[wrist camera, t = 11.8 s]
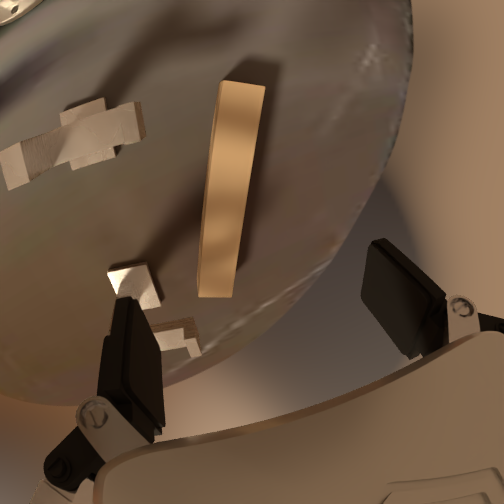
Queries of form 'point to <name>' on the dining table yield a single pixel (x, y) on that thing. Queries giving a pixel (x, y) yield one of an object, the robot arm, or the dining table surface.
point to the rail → (227, 185)
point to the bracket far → (144, 290)
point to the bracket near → (74, 141)
